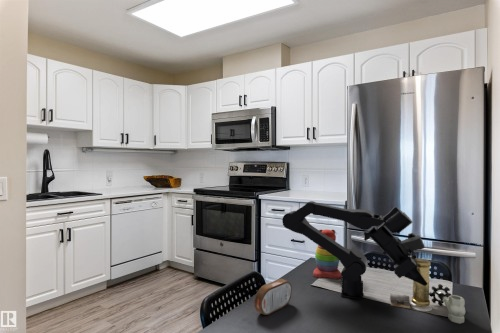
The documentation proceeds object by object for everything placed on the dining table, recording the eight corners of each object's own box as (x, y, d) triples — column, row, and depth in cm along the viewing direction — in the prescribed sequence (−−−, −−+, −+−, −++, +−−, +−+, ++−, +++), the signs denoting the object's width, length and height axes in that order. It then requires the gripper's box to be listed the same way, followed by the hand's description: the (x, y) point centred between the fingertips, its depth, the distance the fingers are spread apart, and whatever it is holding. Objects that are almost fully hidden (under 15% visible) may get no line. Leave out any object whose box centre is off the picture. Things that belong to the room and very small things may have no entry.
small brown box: (390, 305, 99) (390, 296, 99) (389, 299, 103) (389, 290, 103) (410, 308, 97) (410, 299, 97) (408, 301, 101) (408, 293, 101)
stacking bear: (313, 277, 123) (313, 231, 122) (313, 268, 132) (313, 226, 132) (341, 279, 120) (342, 233, 120) (340, 270, 130) (340, 227, 130)
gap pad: (411, 309, 96) (411, 308, 96) (408, 301, 102) (408, 300, 102) (433, 312, 94) (433, 312, 94) (430, 304, 100) (430, 303, 100)
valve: (473, 325, 87) (450, 305, 99) (473, 301, 87) (451, 284, 99) (447, 323, 88) (428, 304, 100) (447, 300, 88) (428, 283, 100)
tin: (286, 300, 103) (286, 274, 102) (293, 303, 100) (293, 277, 100) (253, 316, 92) (253, 287, 92) (261, 320, 90) (261, 291, 90)
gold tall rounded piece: (409, 302, 98) (409, 260, 98) (415, 297, 101) (416, 257, 101) (425, 307, 95) (426, 264, 94) (432, 303, 98) (433, 261, 97)
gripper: (407, 232, 91) (452, 277, 86) (407, 221, 108) (444, 258, 103) (377, 256, 94) (419, 300, 90) (381, 241, 111) (416, 278, 107)
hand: (425, 282), depth 97 cm, fingers closed on gold tall rounded piece, 4 cm apart
